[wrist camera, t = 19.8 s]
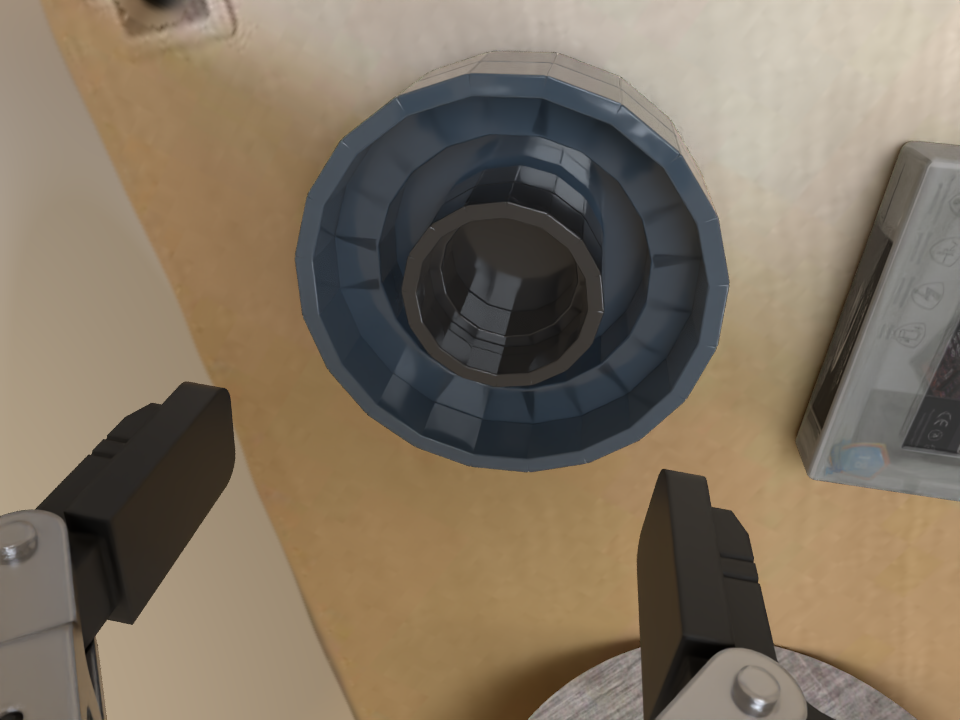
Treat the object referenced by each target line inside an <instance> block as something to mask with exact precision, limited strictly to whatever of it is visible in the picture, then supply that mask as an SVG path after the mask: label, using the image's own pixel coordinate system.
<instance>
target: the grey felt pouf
mask: <svg viewBox="0 0 960 720" xmlns="http://www.w3.org/2000/svg"><path fill="white" fill-rule="evenodd" d="M774 648H775V653H776V657H777V660H778V663H779V664H780V665H781V666H783V667H784V668H785V669H786V670H787V671H788V672H789V673H790V674H791V675H792V676H793V678H794V679H795V680H796V681H797V683H798V684H799V686H800V688H801V690H802V691H803V694H804V696H805V699H806V701H807V702H808V703H809V704H811V705H812V706H813V707H815V708H816V709H818V710H819V711H821V712H822V713H824V714H826V715H828V716H830V717H831V718H833V719H836V720H917V719H916V718H915V717H913V716H912V715H911V714H910V713H908V712H907V711H906V710H904V709H903V708H902V707H900V706H899V705H898V704H896V703H895V702H893V701H892V700H890V699H889V698H887V697H886V696H885V695H883V694H882V693H880V692H879V691H877V690H876V689H874V688H872V687H871V686H869V685H867V684H866V683H864V682H862V681H860V680H859V679H857V678H855V677H853V676H851V675H850V674H848V673H846V672H844V671H842V670H839V669H837V668H835V667H833V666H831V665H829V664H826V663H824V662H822V661H819V660H817V659H814V658H811V657H809V656H806V655H803V654H800V653H797V652H793V651H790V650H787V649H783V648H780V647H776V646H774ZM528 720H644V716H643V694H642V671H641V648H637V649H634V650H631V651H628V652H626V653H623V654H620V655H618V656H616V657H613V658H611V659H609V660H607V661H605V662H603V663H601V664H599V665H597V666H595V667H593V668H591V669H589V670H588V671H586V672H584V673H583V674H581V675H579V676H578V677H576V678H575V679H573V680H572V681H570V682H569V683H567V684H566V685H565V686H563V687H562V688H561V689H560V690H558V691H557V692H556V693H555V694H553V695H552V696H551V697H550V698H549V699H548V700H547V701H545V702H544V703H543V704H542V705H541V706H540V707H539V708H538V709H537V710H536V711H535V712H534V713H533V714H532V715H531V716H530V718H529V719H528Z"/></svg>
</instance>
